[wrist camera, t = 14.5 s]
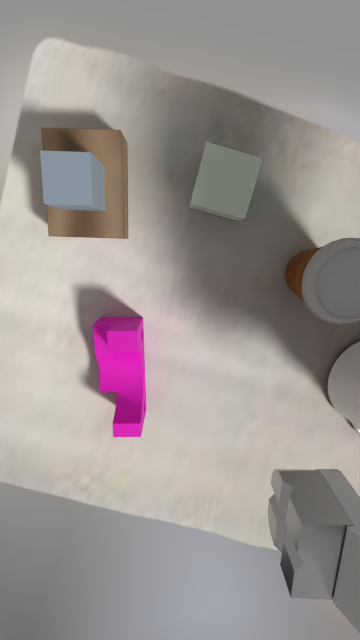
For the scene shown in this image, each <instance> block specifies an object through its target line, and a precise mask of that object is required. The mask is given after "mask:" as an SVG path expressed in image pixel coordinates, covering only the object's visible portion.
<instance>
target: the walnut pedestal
mask: <svg viewBox="0 0 360 640" xmlns="http://www.w3.org/2000/svg"><path fill="white" fill-rule="evenodd" d="M42 143H43V151H69V152H91V153H92V154H93V155H94V156H95V157H96V158H97V159H98V160H99V161H100V162H101V163H102V164H103V165H104V170H105V211H90V210H64V209H60V208H56V207H53V206H49V205H47V218H48V233H49V236H59V237H90V238H122V239H128V167H127V142H126V140H125V138H124V136H123V134H122V132H121V130H100V129H71V128H42Z"/></svg>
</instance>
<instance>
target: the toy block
mask: <svg viewBox="0 0 360 640" xmlns="http://www.w3.org/2000/svg"><path fill="white" fill-rule="evenodd" d="M93 332H94V345H95V355H96V357H97V360H98V364H99V372H100V392H117V400H116V409H115V415H114V420H113V437H141V433H142V428H143V423H144V418H145V413H146V390H145V361H144V332H143V317H139V318H100V319H99V320H98V321H97V322H96V323H95V324H94V325H93Z"/></svg>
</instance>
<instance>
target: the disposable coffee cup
mask: <svg viewBox="0 0 360 640" xmlns="http://www.w3.org/2000/svg"><path fill="white" fill-rule="evenodd" d="M285 276H286V281H287V284H288V286H289V287H290V288H291V290H293V291H294V292H295V293H296V294H297V295H298V296H299V297H300V298H301V299H302V300H303V301H305V303H306V305H307V307H308V308H309V310H310V311H311V312H312V313H313V314H314V315H315V316H316V317H318V318H319V319H321V320H323V321H325V322H328V323H332V324H349V323H354V322H357V321H360V239H359V238H343V239H340V240H336V241H333V242H331V243H329V244H327V245H325V246H324V247H320V248H316V249H312V250H308V251H303V252H301V253H299V254H297V255H296V256H294V257H293V258H292V259H291V261H290V262H289V263H288V265H287V269H286V274H285Z"/></svg>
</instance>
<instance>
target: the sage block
mask: <svg viewBox="0 0 360 640" xmlns="http://www.w3.org/2000/svg"><path fill="white" fill-rule="evenodd" d="M262 161H263V158H260V157H257V156H254V155H250V154H247V153H244V152H240V151H237V150H234V149H230V148H227V147H224V146H220V145H217V144H214V143H210V142H207V141H206V144H205V148H204V151H203V155H202V159H201V163H200V167H199V171H198V174H197V178H196V182H195V186H194V190H193V193H192V197H191V201H190V205H189V207H190V208H193V209H197V210H201V211H204V212H208V213H211V214H215V215H218V216H222V217H225V218H229V219H232V220H236V221H240V220H243V219H245V217H246V214H247V211H248V208H249V204H250V201H251V198H252V194H253V191H254V188H255V185H256V181H257V178H258V175H259V171H260V168H261V165H262Z"/></svg>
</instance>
